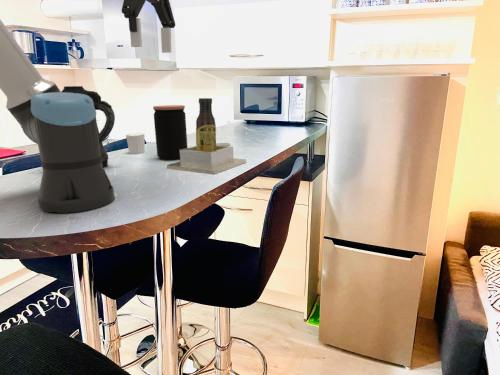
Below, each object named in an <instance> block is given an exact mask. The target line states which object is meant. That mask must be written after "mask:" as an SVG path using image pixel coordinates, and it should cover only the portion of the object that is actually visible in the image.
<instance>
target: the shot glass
mask: <svg viewBox="0 0 500 375" xmlns="http://www.w3.org/2000/svg"><path fill="white" fill-rule="evenodd" d="M125 137H126V142H127V147H128V148H127V149H128V152H129V154H131V155H139V154H140V155H141V154H144V153H145V152H146V151H145V143H146V142H145V141H146V140H145V137H146V136H145V134H144V133H129V134H125Z"/></svg>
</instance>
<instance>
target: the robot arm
mask: <svg viewBox="0 0 500 375" xmlns="http://www.w3.org/2000/svg"><path fill="white" fill-rule="evenodd" d="M146 2H148V3H149V4H150V5H151V6H152V7H153V8H154V10H155V13H156V14H157V15H156V16H157V17H158V19H159V21H160V25H161V26H162V27H161V28H160V37H161V38H160V41H161V53H163V54H164V53H166V54H167V53H172V32H171V31H172V30H171V29H174V28H175V27H176V21H175V19H174V14H173V11H172V10H173V9H172V6H171V3H170V0H123V1H122V6H121V14H123V16H124V18H125V19H128V28H129V30H128V31H129V32H130V47H131V48H142V47H143V43H142V42H143V39H142V25H141V24H142V23H141V18H139V15H140V14H141V11H142V9H143V6H144V5H145V4H146ZM0 90H1V92H2V93H3V94H4V96H5V97H6V106H5V107H6V109H7V110H8V112H10V114H11V116H12V117H13V118H14V120H16V121H17V123H18V124H19V125H20V128H21V129H22V132H23V133H24V134H25V136H26V137H27V138H28V139H29V140H30V141H31V142H33V143H35V144H37V145H38V151H39V157H40V161H41V169H42V175H41V180H40V185H39V191H38V197H37V200H38V206H39V210H41V211H43V212H45V211H47V212H46V213H51V212H57V213H56V214H66V213H67V214H69V212H70V213H79V212H83V211H84V212H85V211H89V210H94V209H97V208H101V207H103V206H106V205H108V204H110V203H112V202H113V201H114V200H115V198H116V197H115V190H114V187H113V185H112V183H111V181H110V179H109V177H108V174H107V172H106V171H105V168H103V166H102V161H101V153H100V145H99V138H98V130H99V129H98V130H97V126H98V123H97V110H95V108H94V103H93V100H92V99H91V98H90V97H89V96H87V95H84V94H79V93H67V92H62V90H60V88H59V87H58V85H57V84H56V82H54V81H52V80H48V79H45V78H44V77H43V76H42V75H41V74H40V72H39V71H38V69H37V68H36V66H35V64H33V62H32V61H31V60H30V58H29V57H28V56H27V54H26V53H25V52H24V50H23V49H22V48H21V46H20V45H19V43H18V41H17V40H16V39H15V38H14V36H13V35H12V34H11V32H10V31H9V29H8V27H6V25H5V24H4V22H3V21H2V19H0Z"/></svg>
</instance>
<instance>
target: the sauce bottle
mask: <svg viewBox="0 0 500 375" xmlns="http://www.w3.org/2000/svg"><path fill="white" fill-rule="evenodd" d="M212 103H213V98H212V97H202V98H201V97H199V98H198V104H199V114H198V116H197V118H196V121H195V123H196V124H195V126H196V127H195V144H196V145H195V146H196V151H205V152H212V151H216V144H217V127H216V120H215V119H216V118H215V117H214V115H213V110H212V108H213V107H212Z"/></svg>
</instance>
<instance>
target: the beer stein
mask: <svg viewBox="0 0 500 375" xmlns="http://www.w3.org/2000/svg"><path fill="white" fill-rule="evenodd" d="M61 92H67V93H79V94H84V95H87V96H89V97H90V98H91V99H92V100H93V103H94V108H95V110H96V111H100V112H103V114H104V116H105V123H104V126H103V128H102V129H101V130H99V127H98V125H97V130H98V138H99V145H100V153H101V161H102V166H103V168H104V169H105V168H107V167H108V161H109V154H108V153H107V151H106V149H105V147H104V145H103V142H104V141H105V140H106V139H107V138H108V136H110V134H111V132H112V130H113V128H114V125H115V119H116V117H115V116H116V115H115V112H114V109H113V107H112V105H111V104H110V103H108V101H105V100H102V97H101V95H100V94H99V92H97V91H93V90H92V91H91V90H87V89H86V88H84V87H83V85H81V86H80V85H76V86H75V85H73V86H72V85H71V86H65V85H64V86H63V89H62V90H61Z"/></svg>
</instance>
